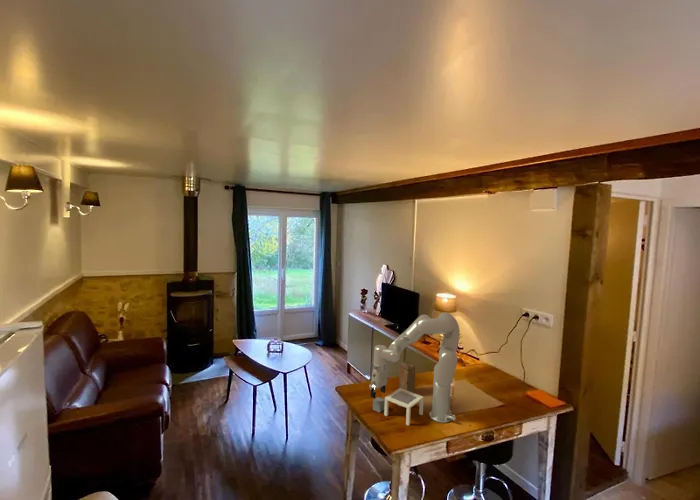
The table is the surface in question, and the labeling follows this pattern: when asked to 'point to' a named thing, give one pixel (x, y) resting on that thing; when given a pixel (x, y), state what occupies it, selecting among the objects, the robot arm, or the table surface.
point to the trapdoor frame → (408, 406)
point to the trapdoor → (404, 397)
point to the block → (407, 376)
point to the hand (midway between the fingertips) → (377, 394)
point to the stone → (378, 404)
